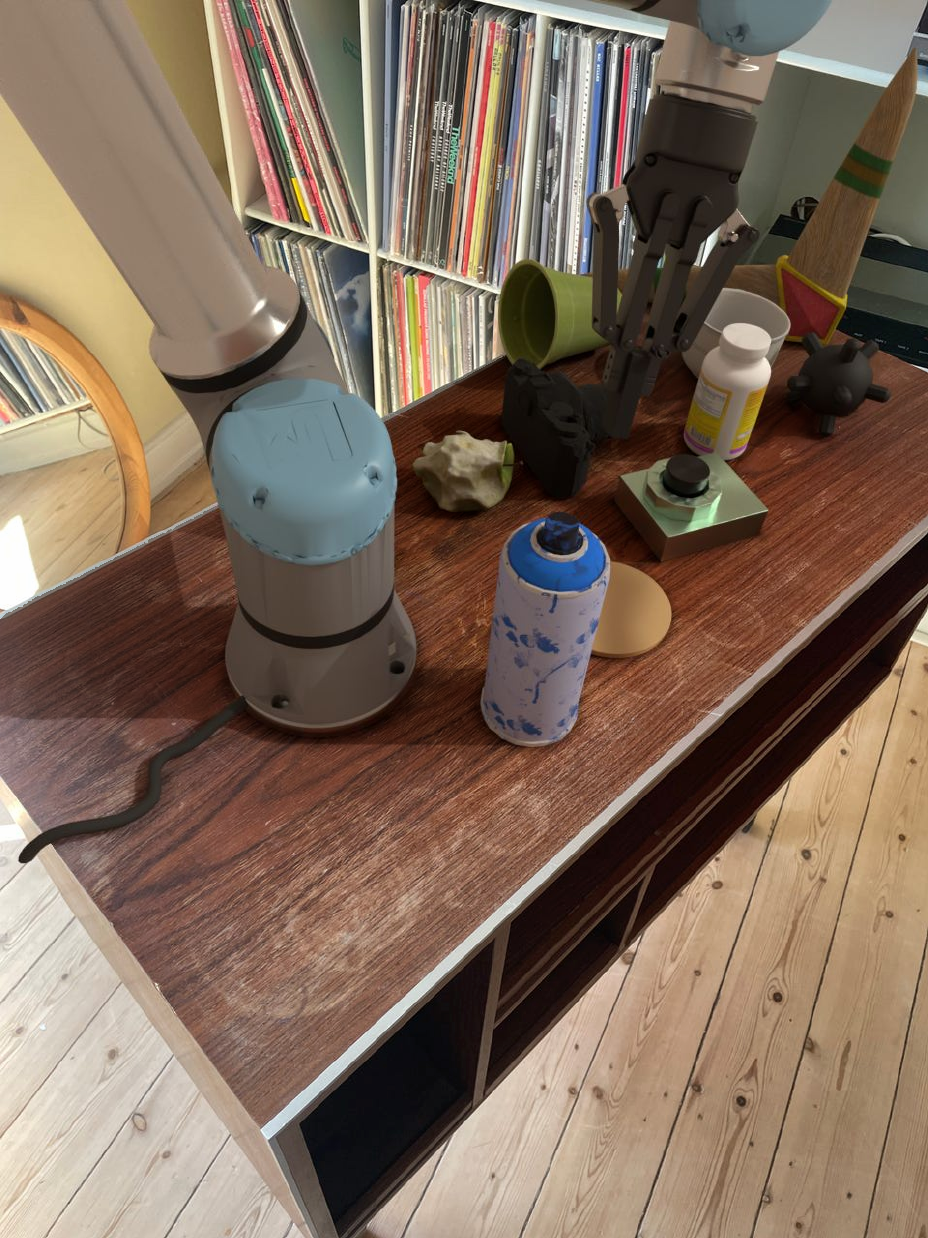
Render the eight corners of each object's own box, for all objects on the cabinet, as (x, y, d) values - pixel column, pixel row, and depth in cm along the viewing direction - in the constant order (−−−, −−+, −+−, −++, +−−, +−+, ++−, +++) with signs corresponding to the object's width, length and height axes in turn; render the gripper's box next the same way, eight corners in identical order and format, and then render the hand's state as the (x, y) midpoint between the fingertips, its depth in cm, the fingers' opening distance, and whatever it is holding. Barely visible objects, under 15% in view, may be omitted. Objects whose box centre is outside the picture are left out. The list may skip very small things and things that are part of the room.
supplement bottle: (741, 427, 101) (778, 320, 91) (748, 466, 96) (787, 358, 87) (679, 421, 101) (709, 313, 91) (683, 459, 97) (715, 351, 87)
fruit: (528, 504, 93) (542, 452, 86) (452, 546, 89) (460, 495, 82) (473, 442, 96) (482, 387, 89) (398, 480, 92) (401, 426, 85)
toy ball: (806, 426, 109) (822, 468, 99) (757, 354, 105) (769, 390, 95) (894, 372, 104) (920, 411, 94) (846, 294, 100) (868, 326, 90)
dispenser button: (676, 503, 85) (681, 486, 83) (653, 476, 87) (658, 458, 86) (713, 493, 86) (718, 476, 85) (690, 467, 89) (695, 449, 87)
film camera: (637, 486, 93) (656, 412, 87) (549, 506, 91) (562, 431, 84) (570, 399, 102) (583, 325, 96) (489, 415, 100) (496, 341, 93)
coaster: (581, 673, 77) (582, 668, 77) (524, 581, 84) (525, 577, 83) (693, 638, 81) (695, 633, 80) (631, 552, 87) (632, 548, 87)
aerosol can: (587, 682, 77) (634, 499, 62) (564, 759, 72) (609, 579, 57) (496, 656, 78) (520, 470, 63) (467, 730, 73) (486, 547, 58)
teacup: (683, 339, 112) (699, 276, 106) (774, 359, 110) (796, 297, 104) (662, 404, 103) (679, 340, 97) (761, 427, 101) (784, 363, 95)
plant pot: (590, 382, 112) (511, 388, 107) (569, 286, 113) (488, 288, 107) (651, 343, 102) (566, 348, 97) (627, 238, 102) (541, 238, 97)
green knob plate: (660, 562, 86) (672, 522, 83) (613, 500, 92) (623, 460, 88) (758, 534, 90) (774, 495, 86) (708, 476, 95) (721, 437, 91)
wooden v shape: (906, 68, 87) (915, 43, 91) (578, 276, 117) (595, 251, 121) (1004, 263, 96) (1009, 234, 99) (675, 411, 125) (688, 384, 129)
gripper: (634, 80, 59) (547, 437, 70) (817, 123, 62) (705, 459, 73) (600, 78, 65) (526, 406, 76) (768, 117, 68) (672, 427, 79)
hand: (614, 431), depth 75 cm, fingers closed
